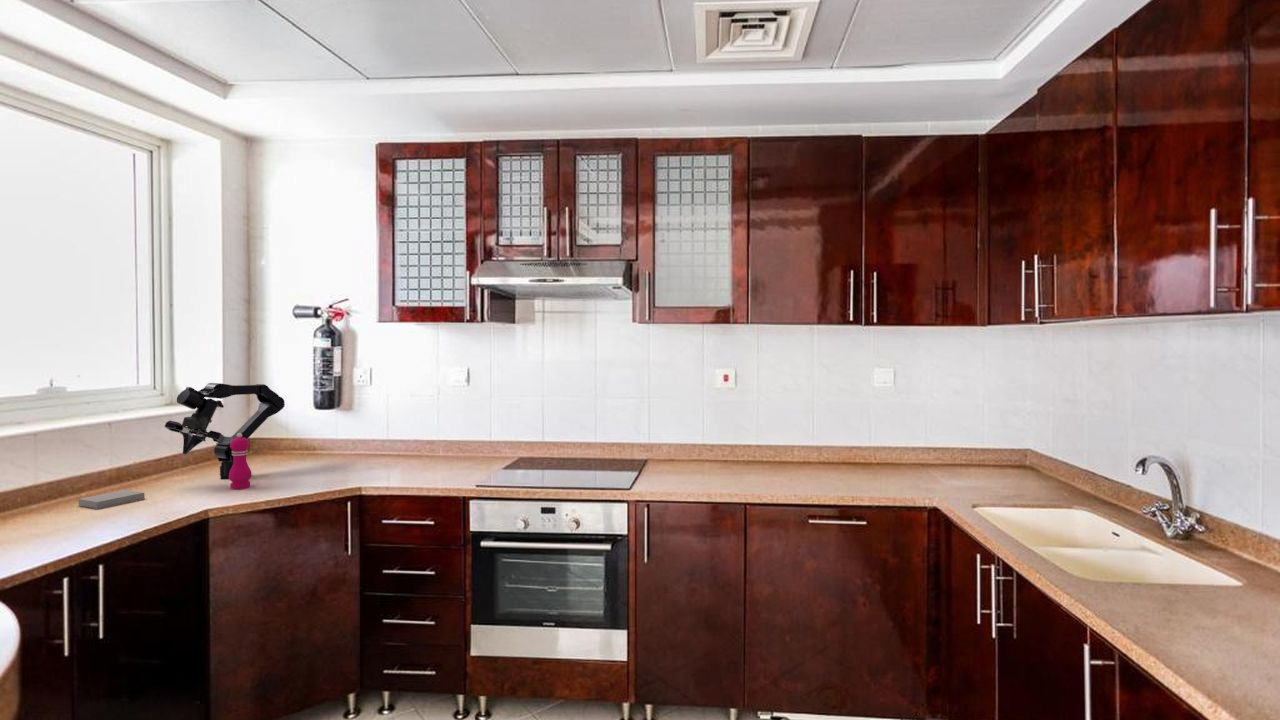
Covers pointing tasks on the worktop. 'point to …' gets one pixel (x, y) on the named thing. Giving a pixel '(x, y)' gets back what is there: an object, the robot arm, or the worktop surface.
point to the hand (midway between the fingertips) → (184, 453)
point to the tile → (111, 499)
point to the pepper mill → (239, 463)
